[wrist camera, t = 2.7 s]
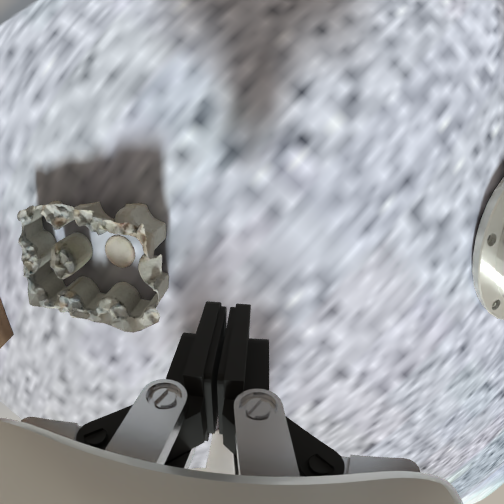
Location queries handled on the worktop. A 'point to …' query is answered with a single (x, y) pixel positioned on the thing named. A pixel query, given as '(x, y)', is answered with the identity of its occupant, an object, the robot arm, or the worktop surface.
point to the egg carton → (79, 253)
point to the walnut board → (4, 327)
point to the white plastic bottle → (218, 457)
